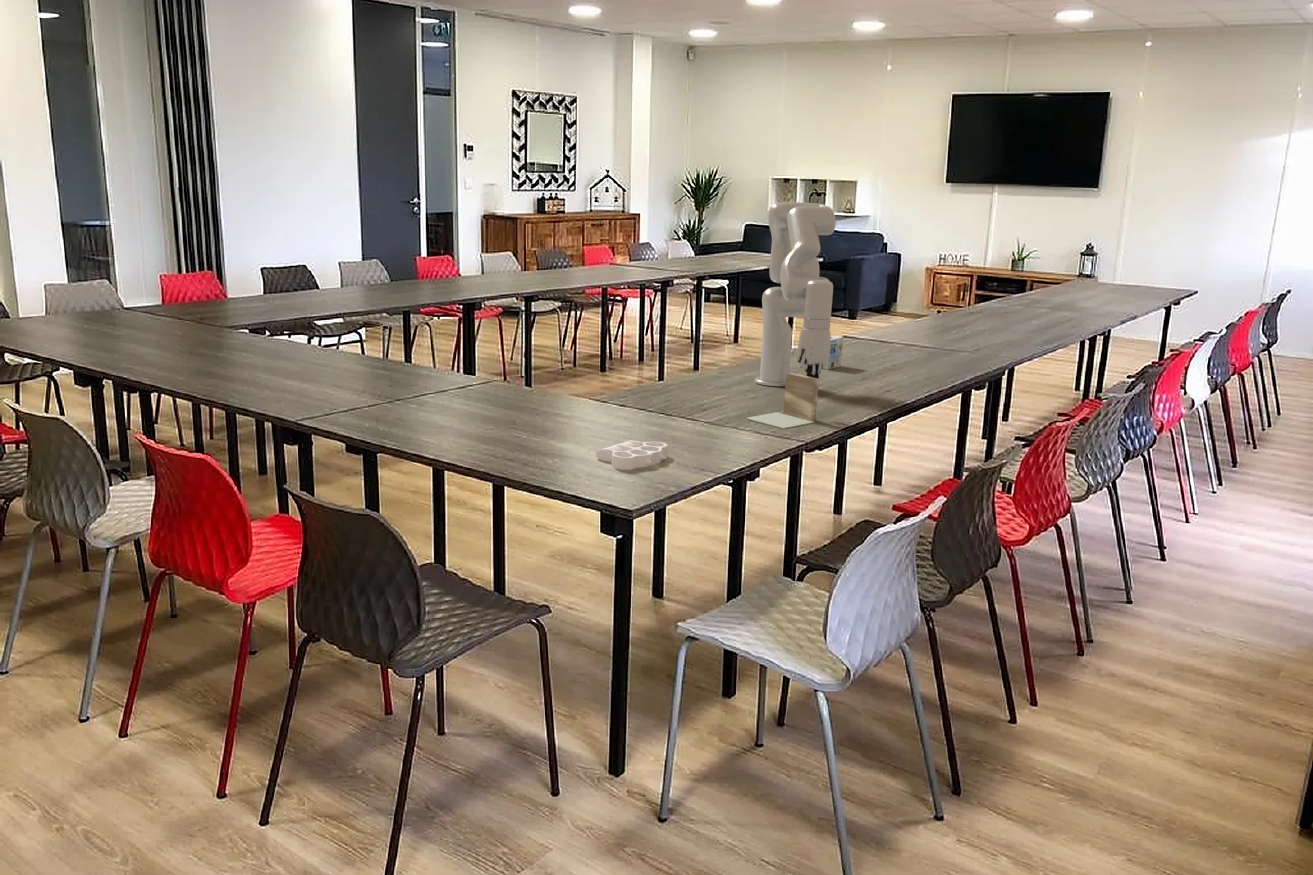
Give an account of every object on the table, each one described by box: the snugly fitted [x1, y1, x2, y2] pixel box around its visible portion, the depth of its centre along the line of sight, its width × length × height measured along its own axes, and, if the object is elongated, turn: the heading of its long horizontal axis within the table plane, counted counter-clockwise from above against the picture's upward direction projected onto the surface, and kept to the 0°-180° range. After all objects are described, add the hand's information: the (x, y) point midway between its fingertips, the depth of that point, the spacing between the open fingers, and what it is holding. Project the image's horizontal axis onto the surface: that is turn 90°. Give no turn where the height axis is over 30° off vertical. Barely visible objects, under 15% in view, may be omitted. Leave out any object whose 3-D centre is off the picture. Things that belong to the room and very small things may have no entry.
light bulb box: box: [821, 334, 844, 370], centre depth 383 cm, size 11×7×11 cm, turn 143°
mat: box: [745, 411, 815, 430], centre depth 298 cm, size 13×14×1 cm
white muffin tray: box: [595, 439, 669, 471], centre depth 253 cm, size 3×18×15 cm
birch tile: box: [782, 373, 820, 422], centre depth 303 cm, size 2×10×12 cm, turn 43°
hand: (811, 387), depth 305 cm, fingers closed
